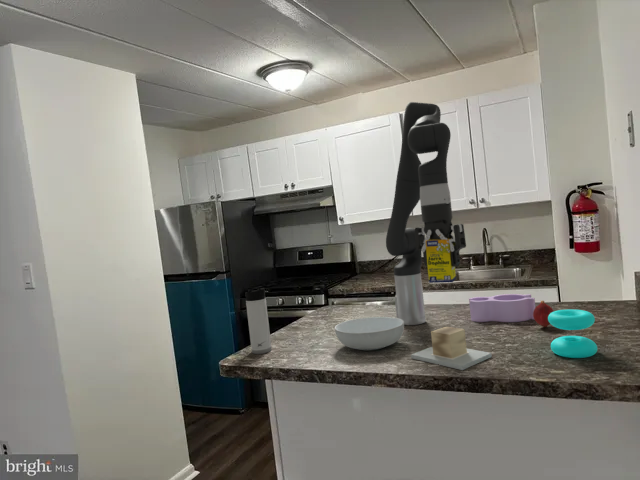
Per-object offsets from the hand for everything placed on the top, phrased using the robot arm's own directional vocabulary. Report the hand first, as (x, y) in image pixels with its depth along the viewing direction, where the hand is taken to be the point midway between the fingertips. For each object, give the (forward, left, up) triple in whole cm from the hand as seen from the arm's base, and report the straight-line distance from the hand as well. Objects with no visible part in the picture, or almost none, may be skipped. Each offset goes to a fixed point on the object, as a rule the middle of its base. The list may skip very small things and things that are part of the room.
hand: (442, 266), depth 116 cm
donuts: (+22, +19, -24) cm, 38 cm away
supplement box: (0, 0, -4) cm, 4 cm away
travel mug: (-52, -27, -24) cm, 63 cm away
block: (0, 0, -23) cm, 23 cm away
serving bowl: (-26, -4, -24) cm, 36 cm away
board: (0, 0, -24) cm, 24 cm away
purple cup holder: (-12, +43, -24) cm, 51 cm away
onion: (+5, +38, -24) cm, 45 cm away
